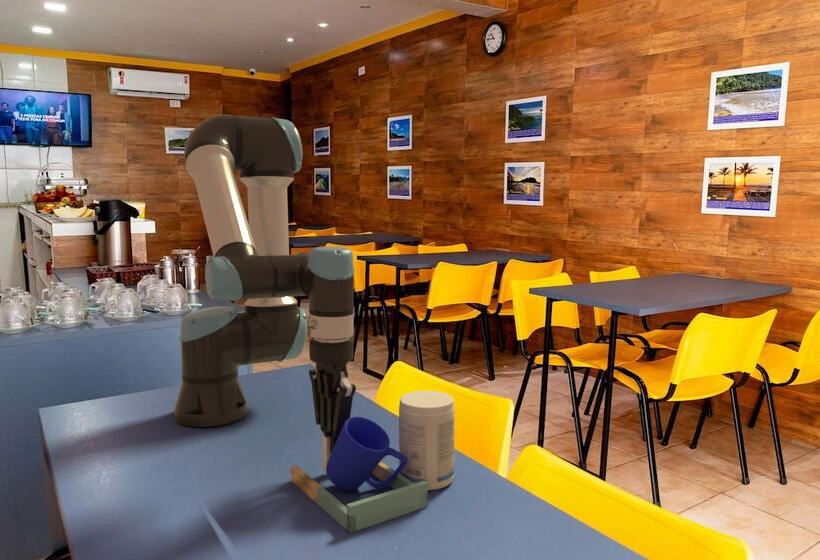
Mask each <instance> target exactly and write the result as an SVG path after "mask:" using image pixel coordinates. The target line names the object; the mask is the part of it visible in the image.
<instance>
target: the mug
mask: <svg viewBox="0 0 820 560" xmlns="http://www.w3.org/2000/svg"><path fill="white" fill-rule="evenodd" d="M390 443H391V441H390V437H389V435H388V433H387V432H386V430H385V429H384V428H382V426H380V425H379V423H376V422H375V421H373V420H371V419H369V418H366V417H362V416H352V417H351V416H350V418H349V419H347V420H346V422H345V423H344V426H343V428H342V430H341V433H340V435H339V437H338V439H337V442H336V444H335V446H334V448H333V451H332V453H331V455H330V457H329V460H328V462H327V465H326V470H325V472H326V476H327V478H328V479H329V481H330V482H331V483H332V484H333V485H334V486H335V487H336V488H339V489H342V490H345V491H354V490H358V488H360V487H361V486H362V485H363V484H364V483H365V482H367V483H368V484H369V485H370V486H371V487H373V488H375V489H384V488H385V487H388V486H389V484H390V483H391V482H392V481H393V480H394V479H395V478H396V477H397V475H398V474H399V473H400V472H401V470H402V469H403V467H404V466H405V465H406V463H407V460H408V459H407V457H406V456H404V455H403V454H401V453H400V452H399V450H396V449H395V448H392V447H390ZM387 456H391V457H394V458H395V459H397V460H400V461H402V462H401V464H400V465H398V467H397V468H396V469H395V472H394V473H393V474H392V475H391V476H390V477H389V478H388V479H387V480H385V481H376V480H374V479H373V478H372V477H371V475H373V474H372V472H373V471H374V469H375V468H376V466H377V465H378V464H379V462H380V461H381V462H382V460H383V459H384V458H385V457H387Z"/></svg>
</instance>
